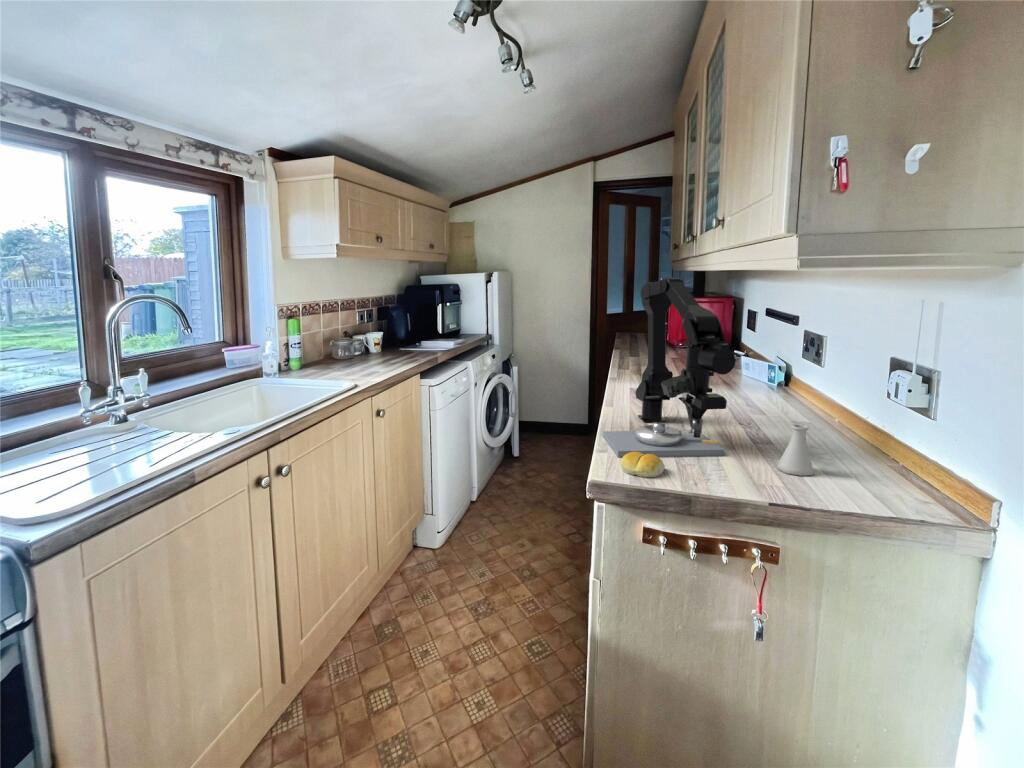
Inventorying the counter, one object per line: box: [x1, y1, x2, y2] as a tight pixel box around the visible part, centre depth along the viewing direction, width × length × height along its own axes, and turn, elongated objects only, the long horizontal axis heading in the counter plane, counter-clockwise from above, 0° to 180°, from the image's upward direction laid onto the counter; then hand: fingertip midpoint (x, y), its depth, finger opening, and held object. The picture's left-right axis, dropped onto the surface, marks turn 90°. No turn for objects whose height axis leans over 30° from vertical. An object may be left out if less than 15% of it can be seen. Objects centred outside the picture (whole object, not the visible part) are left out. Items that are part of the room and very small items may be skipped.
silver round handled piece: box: [635, 417, 703, 446], centre depth 125 cm, size 16×11×6 cm
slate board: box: [602, 429, 725, 458], centre depth 126 cm, size 16×26×2 cm, turn 93°
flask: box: [776, 423, 815, 477], centre depth 109 cm, size 7×7×10 cm
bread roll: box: [620, 452, 666, 478], centre depth 110 cm, size 8×9×4 cm
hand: (692, 427), depth 128 cm, fingers closed
